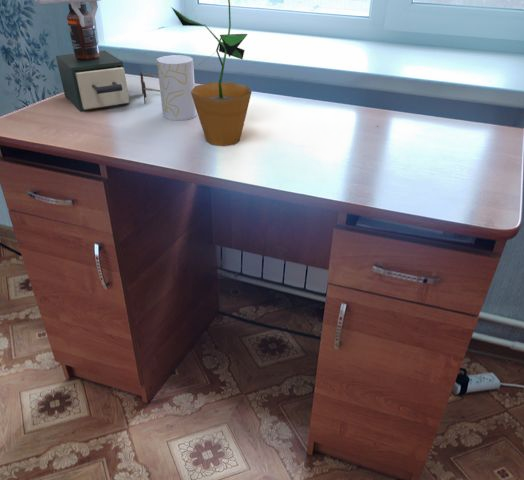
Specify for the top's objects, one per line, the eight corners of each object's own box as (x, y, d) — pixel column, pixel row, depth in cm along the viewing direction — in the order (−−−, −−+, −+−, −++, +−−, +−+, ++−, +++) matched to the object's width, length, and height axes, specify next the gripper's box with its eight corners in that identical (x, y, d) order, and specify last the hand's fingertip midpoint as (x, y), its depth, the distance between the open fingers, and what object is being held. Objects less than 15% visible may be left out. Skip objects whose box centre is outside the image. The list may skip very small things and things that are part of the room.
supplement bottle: (104, 56, 126) (95, 1, 118) (90, 61, 122) (80, 5, 114) (84, 54, 128) (74, 0, 120) (70, 59, 123) (58, 3, 116)
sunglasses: (141, 91, 137) (140, 70, 134) (195, 93, 140) (195, 73, 137) (145, 107, 127) (143, 85, 123) (203, 109, 130) (204, 88, 127)
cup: (156, 117, 121) (150, 61, 113) (173, 107, 127) (168, 53, 119) (186, 122, 119) (182, 65, 111) (202, 112, 124) (198, 57, 116)
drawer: (136, 108, 123) (131, 72, 118) (90, 115, 119) (83, 78, 114) (112, 90, 134) (107, 57, 129) (70, 96, 130) (62, 62, 125)
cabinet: (129, 103, 129) (122, 61, 122) (80, 111, 124) (70, 67, 117) (111, 90, 137) (104, 50, 131) (65, 97, 132) (55, 55, 126)
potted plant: (214, 120, 120) (207, -38, 100) (280, 137, 112) (285, -31, 92) (162, 142, 109) (141, -31, 89) (230, 162, 101) (224, -22, 81)
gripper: (23, -52, 96) (43, 33, 105) (126, -55, 104) (136, 24, 113) (15, -54, 100) (36, 28, 109) (115, -57, 108) (127, 19, 117)
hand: (88, 26), depth 111 cm, fingers closed
